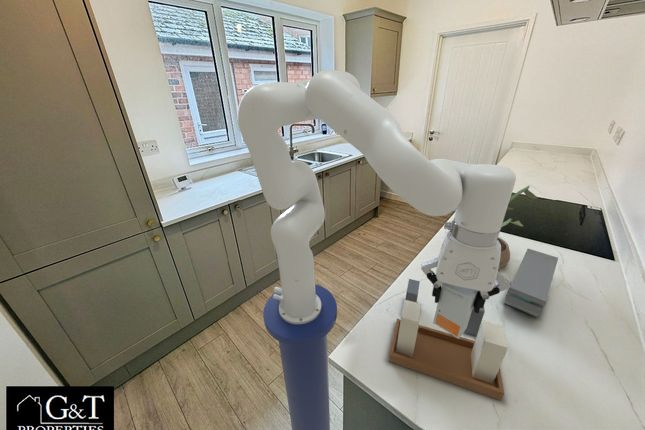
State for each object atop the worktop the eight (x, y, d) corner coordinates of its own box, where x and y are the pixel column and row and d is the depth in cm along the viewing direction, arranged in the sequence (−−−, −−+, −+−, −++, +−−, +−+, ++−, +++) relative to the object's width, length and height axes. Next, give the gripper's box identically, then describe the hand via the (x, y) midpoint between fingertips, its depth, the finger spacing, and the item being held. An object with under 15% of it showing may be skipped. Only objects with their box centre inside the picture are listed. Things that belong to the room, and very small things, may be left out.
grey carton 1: (403, 315, 76) (406, 292, 72) (405, 301, 81) (409, 278, 77) (413, 318, 75) (417, 294, 71) (415, 303, 80) (419, 281, 76)
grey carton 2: (464, 332, 70) (471, 308, 66) (462, 316, 75) (469, 292, 71) (476, 336, 69) (484, 311, 65) (474, 319, 74) (482, 295, 70)
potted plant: (496, 280, 88) (524, 199, 75) (447, 256, 102) (463, 183, 88) (525, 257, 100) (554, 182, 86) (477, 237, 113) (496, 170, 100)
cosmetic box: (432, 323, 60) (440, 283, 55) (440, 313, 63) (450, 274, 57) (459, 340, 56) (471, 298, 51) (467, 329, 59) (479, 288, 53)
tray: (388, 361, 64) (389, 354, 63) (396, 325, 73) (397, 318, 72) (500, 400, 55) (504, 393, 54) (493, 354, 65) (495, 347, 64)
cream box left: (395, 351, 65) (401, 317, 60) (399, 332, 70) (404, 299, 65) (412, 357, 64) (419, 322, 59) (415, 337, 69) (421, 303, 64)
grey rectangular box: (531, 331, 70) (546, 301, 65) (498, 316, 75) (509, 287, 70) (546, 284, 86) (558, 257, 81) (517, 274, 91) (527, 248, 86)
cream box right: (472, 377, 59) (485, 341, 54) (470, 354, 64) (482, 319, 59) (492, 384, 58) (508, 347, 52) (489, 360, 63) (503, 325, 57)
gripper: (423, 233, 49) (411, 304, 56) (536, 252, 42) (506, 329, 50) (425, 216, 55) (415, 282, 63) (525, 230, 48) (499, 302, 56)
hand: (455, 302), depth 56 cm, fingers closed on cosmetic box, 7 cm apart
